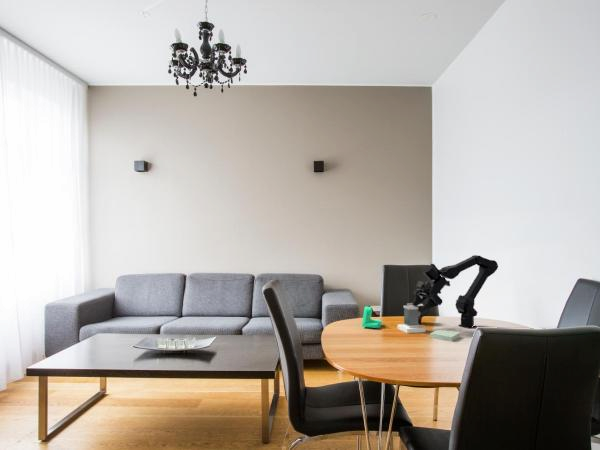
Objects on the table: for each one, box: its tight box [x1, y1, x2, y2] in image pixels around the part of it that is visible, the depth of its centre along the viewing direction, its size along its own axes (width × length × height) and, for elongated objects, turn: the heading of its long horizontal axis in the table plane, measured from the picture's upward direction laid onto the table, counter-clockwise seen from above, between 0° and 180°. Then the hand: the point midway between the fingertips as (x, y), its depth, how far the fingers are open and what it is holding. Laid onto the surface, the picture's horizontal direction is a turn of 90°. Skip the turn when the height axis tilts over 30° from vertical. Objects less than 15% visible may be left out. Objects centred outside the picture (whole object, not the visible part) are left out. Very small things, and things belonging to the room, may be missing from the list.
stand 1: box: [396, 323, 427, 334], centre depth 197 cm, size 10×10×2 cm
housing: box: [403, 304, 420, 328], centre depth 197 cm, size 6×6×10 cm
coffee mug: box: [406, 302, 430, 325], centre depth 213 cm, size 12×9×10 cm
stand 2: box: [429, 329, 461, 342], centre depth 183 cm, size 10×10×2 cm
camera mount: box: [361, 306, 383, 329], centre depth 205 cm, size 12×8×10 cm, turn 156°
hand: (417, 308), depth 198 cm, fingers open, 9 cm apart
